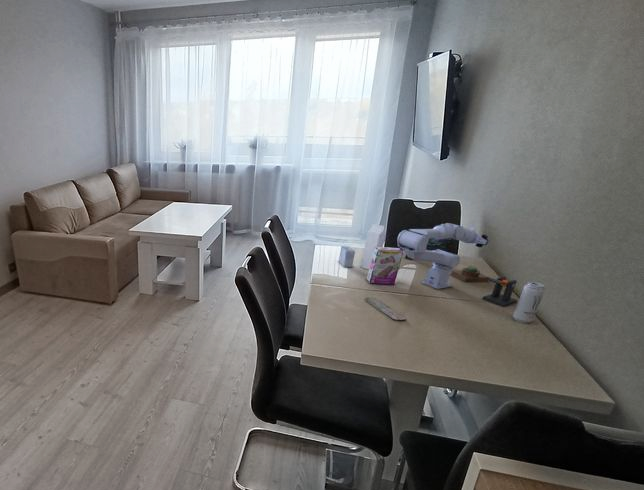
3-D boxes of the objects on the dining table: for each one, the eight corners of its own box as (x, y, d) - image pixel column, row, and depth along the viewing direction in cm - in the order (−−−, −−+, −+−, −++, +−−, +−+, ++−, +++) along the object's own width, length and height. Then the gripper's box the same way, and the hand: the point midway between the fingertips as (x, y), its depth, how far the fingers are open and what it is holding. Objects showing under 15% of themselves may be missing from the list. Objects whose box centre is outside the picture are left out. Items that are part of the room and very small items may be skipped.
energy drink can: (523, 324, 155) (538, 288, 149) (508, 317, 160) (522, 281, 154) (535, 322, 156) (551, 286, 150) (519, 315, 161) (534, 280, 155)
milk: (371, 270, 203) (381, 227, 194) (360, 267, 207) (369, 224, 198) (377, 268, 206) (388, 225, 197) (366, 264, 211) (376, 222, 202)
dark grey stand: (502, 306, 169) (510, 284, 165) (482, 298, 175) (489, 277, 171) (516, 302, 173) (524, 280, 169) (496, 295, 179) (503, 274, 175)
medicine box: (352, 267, 206) (355, 251, 203) (343, 267, 207) (346, 250, 203) (346, 262, 214) (349, 246, 210) (338, 261, 214) (341, 245, 210)
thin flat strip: (373, 298, 174) (373, 296, 173) (407, 319, 155) (407, 317, 155) (362, 299, 173) (362, 297, 173) (395, 320, 154) (395, 318, 154)
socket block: (464, 282, 192) (466, 274, 191) (450, 274, 200) (453, 267, 199) (487, 281, 194) (490, 273, 192) (473, 274, 202) (476, 266, 200)
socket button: (470, 272, 194) (471, 269, 193) (464, 269, 197) (465, 266, 196) (478, 272, 194) (479, 269, 193) (472, 269, 198) (473, 266, 197)
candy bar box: (369, 284, 187) (377, 249, 181) (366, 279, 192) (373, 246, 185) (395, 285, 186) (404, 251, 180) (391, 281, 191) (399, 247, 184)
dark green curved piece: (446, 263, 215) (458, 226, 207) (446, 267, 210) (457, 229, 202) (404, 256, 225) (413, 220, 217) (403, 259, 220) (412, 222, 212)
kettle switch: (499, 286, 164) (502, 280, 164) (486, 281, 168) (489, 276, 168) (512, 288, 170) (515, 283, 169) (499, 284, 174) (502, 278, 173)
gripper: (484, 231, 176) (499, 236, 182) (452, 221, 187) (467, 226, 194) (475, 246, 178) (490, 251, 185) (444, 235, 190) (459, 240, 196)
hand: (478, 239), depth 190 cm, fingers open, 7 cm apart
